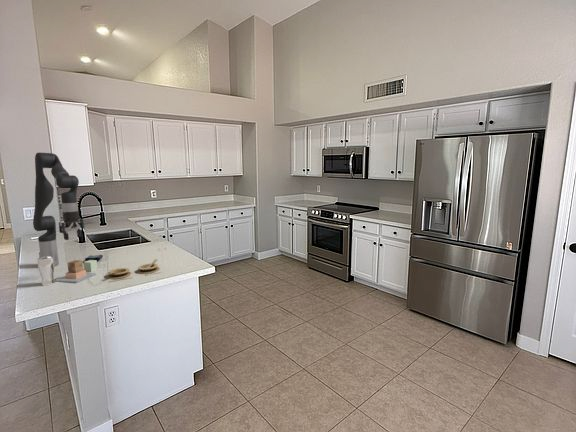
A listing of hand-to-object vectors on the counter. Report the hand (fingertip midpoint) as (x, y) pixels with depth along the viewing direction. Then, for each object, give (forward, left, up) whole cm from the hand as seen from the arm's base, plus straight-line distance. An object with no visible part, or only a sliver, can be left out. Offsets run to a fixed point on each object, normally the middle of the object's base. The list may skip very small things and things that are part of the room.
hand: (73, 238), depth 180 cm
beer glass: (-7, -12, -24) cm, 28 cm away
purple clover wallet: (-15, +29, -25) cm, 41 cm away
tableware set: (+28, +13, -25) cm, 40 cm away
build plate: (+1, -1, -24) cm, 24 cm away
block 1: (+1, -1, -20) cm, 20 cm away
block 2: (-2, +13, -24) cm, 27 cm away
